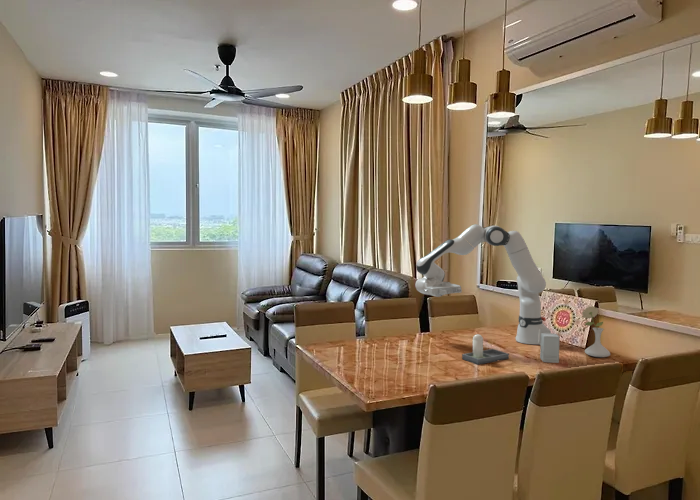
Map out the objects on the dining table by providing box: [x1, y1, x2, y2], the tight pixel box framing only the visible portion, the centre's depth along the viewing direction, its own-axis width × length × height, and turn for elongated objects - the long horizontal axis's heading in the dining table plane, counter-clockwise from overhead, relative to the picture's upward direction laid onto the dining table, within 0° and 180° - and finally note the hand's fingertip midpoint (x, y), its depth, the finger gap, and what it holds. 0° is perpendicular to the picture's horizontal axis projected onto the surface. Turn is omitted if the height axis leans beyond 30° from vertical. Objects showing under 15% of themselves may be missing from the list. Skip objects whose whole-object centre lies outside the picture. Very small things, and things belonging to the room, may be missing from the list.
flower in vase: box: [581, 305, 611, 358], centre depth 238 cm, size 13×11×25 cm
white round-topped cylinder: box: [472, 333, 484, 359], centre depth 230 cm, size 5×5×11 cm
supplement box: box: [539, 332, 560, 364], centre depth 230 cm, size 7×7×13 cm
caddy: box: [461, 348, 510, 366], centre depth 233 cm, size 20×11×2 cm, turn 120°
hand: (454, 291), depth 252 cm, fingers open, 8 cm apart
